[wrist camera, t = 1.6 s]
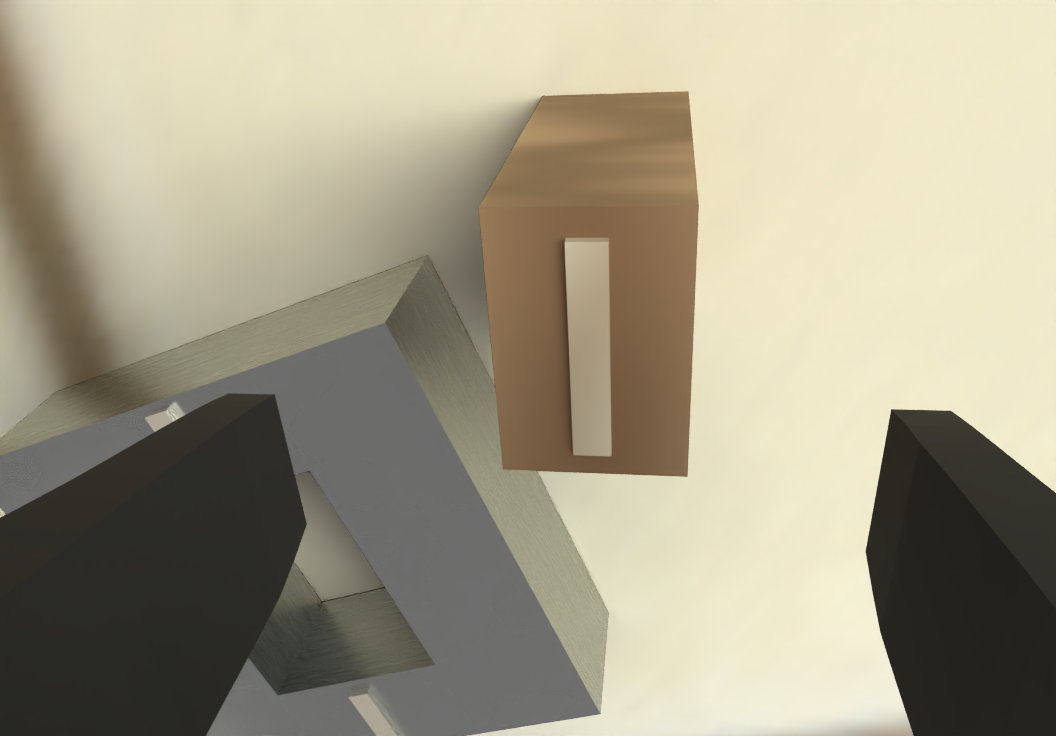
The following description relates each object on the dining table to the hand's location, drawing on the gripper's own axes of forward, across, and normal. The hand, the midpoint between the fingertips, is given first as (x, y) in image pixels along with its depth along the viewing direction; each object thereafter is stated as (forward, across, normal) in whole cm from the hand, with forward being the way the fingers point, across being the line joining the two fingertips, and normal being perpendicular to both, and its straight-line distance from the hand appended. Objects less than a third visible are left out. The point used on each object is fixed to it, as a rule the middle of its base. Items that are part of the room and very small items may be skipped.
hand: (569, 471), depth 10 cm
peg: (+10, 0, 0) cm, 10 cm away
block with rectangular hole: (+10, +8, +9) cm, 16 cm away
